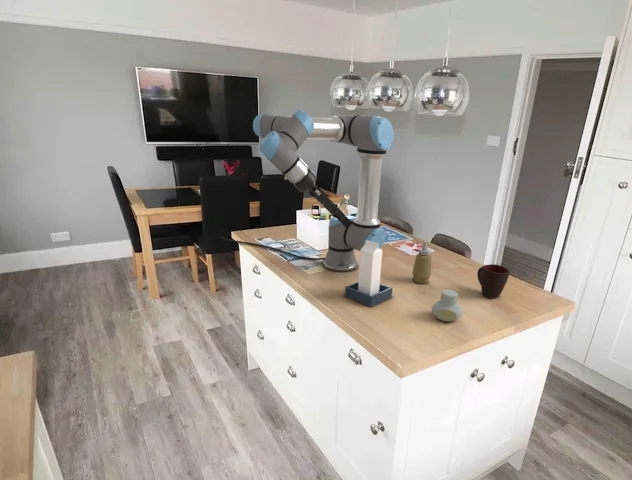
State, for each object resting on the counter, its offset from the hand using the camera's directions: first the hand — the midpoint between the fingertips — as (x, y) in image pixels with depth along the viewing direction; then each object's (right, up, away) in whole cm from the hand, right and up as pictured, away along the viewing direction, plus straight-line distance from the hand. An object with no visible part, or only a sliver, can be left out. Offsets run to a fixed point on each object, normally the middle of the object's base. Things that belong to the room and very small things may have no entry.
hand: (343, 220), depth 147 cm
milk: (+9, -27, +17) cm, 33 cm away
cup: (+59, -26, +29) cm, 70 cm away
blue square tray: (+9, -27, +17) cm, 33 cm away
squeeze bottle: (+31, -20, +36) cm, 52 cm away
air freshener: (+37, -35, +5) cm, 51 cm away
